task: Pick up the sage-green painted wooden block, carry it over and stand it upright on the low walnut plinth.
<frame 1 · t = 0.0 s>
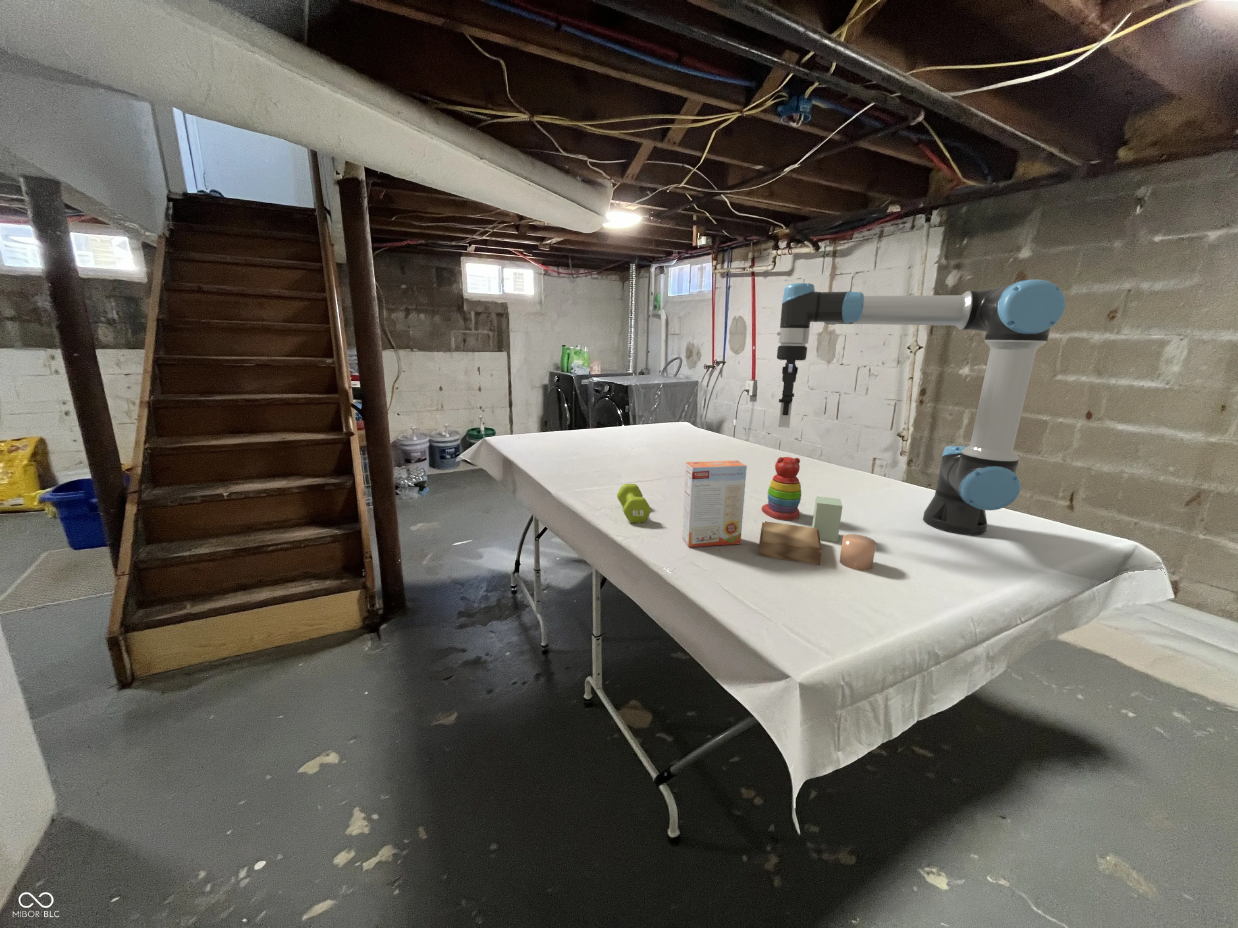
hand: (784, 423, 135), 28 cm above the table, fingers open, 13 cm apart
sage block: (824, 536, 129), on the table
dumbbell: (632, 514, 143), on the table
stacking bear: (781, 515, 145), on the table
cracker box: (710, 542, 124), on the table
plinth: (788, 548, 121), on the table
peach rounded cylinder: (855, 563, 114), on the table
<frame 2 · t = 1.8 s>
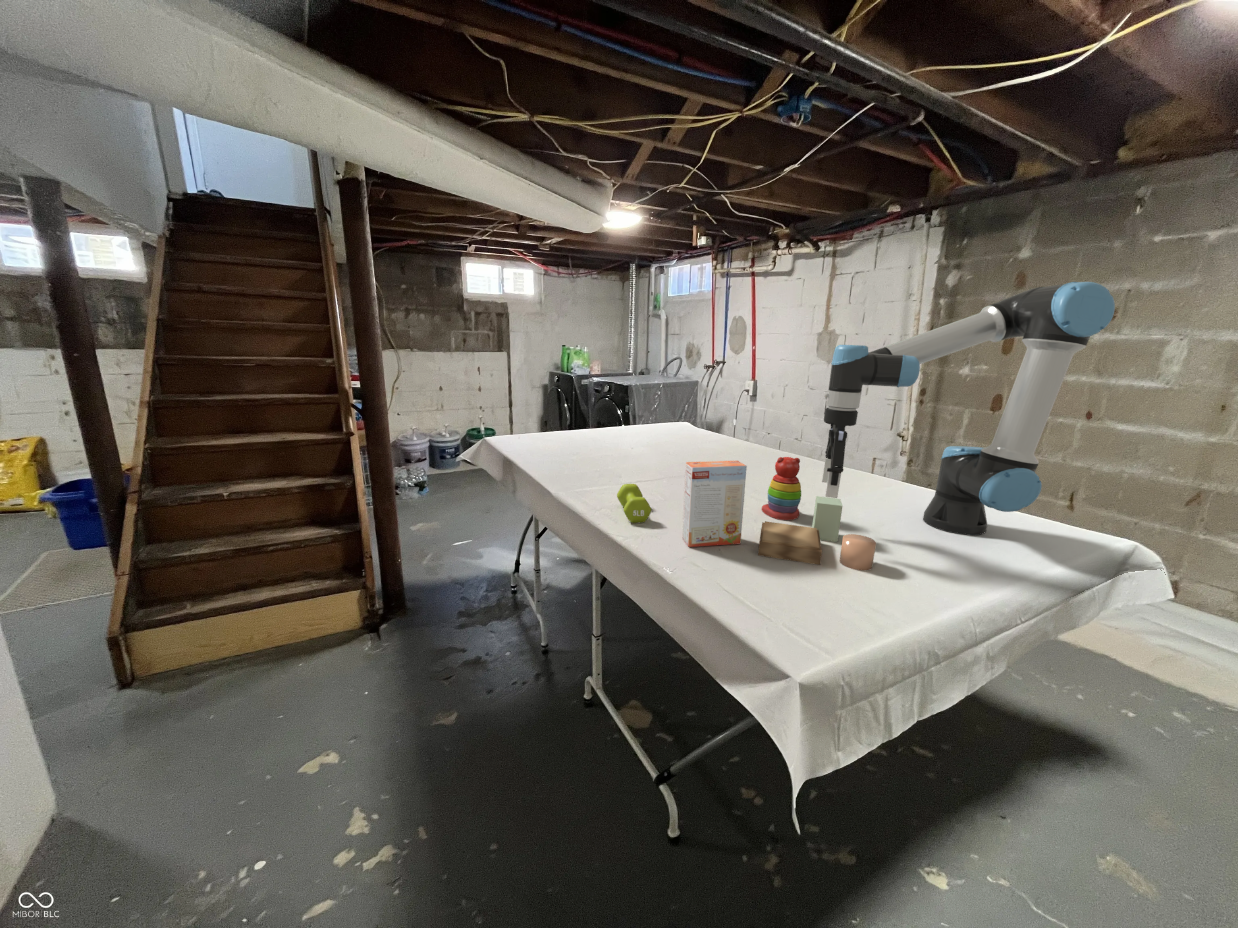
hand: (829, 489, 126), 13 cm above the table, fingers open, 13 cm apart
nothing on the table moved.
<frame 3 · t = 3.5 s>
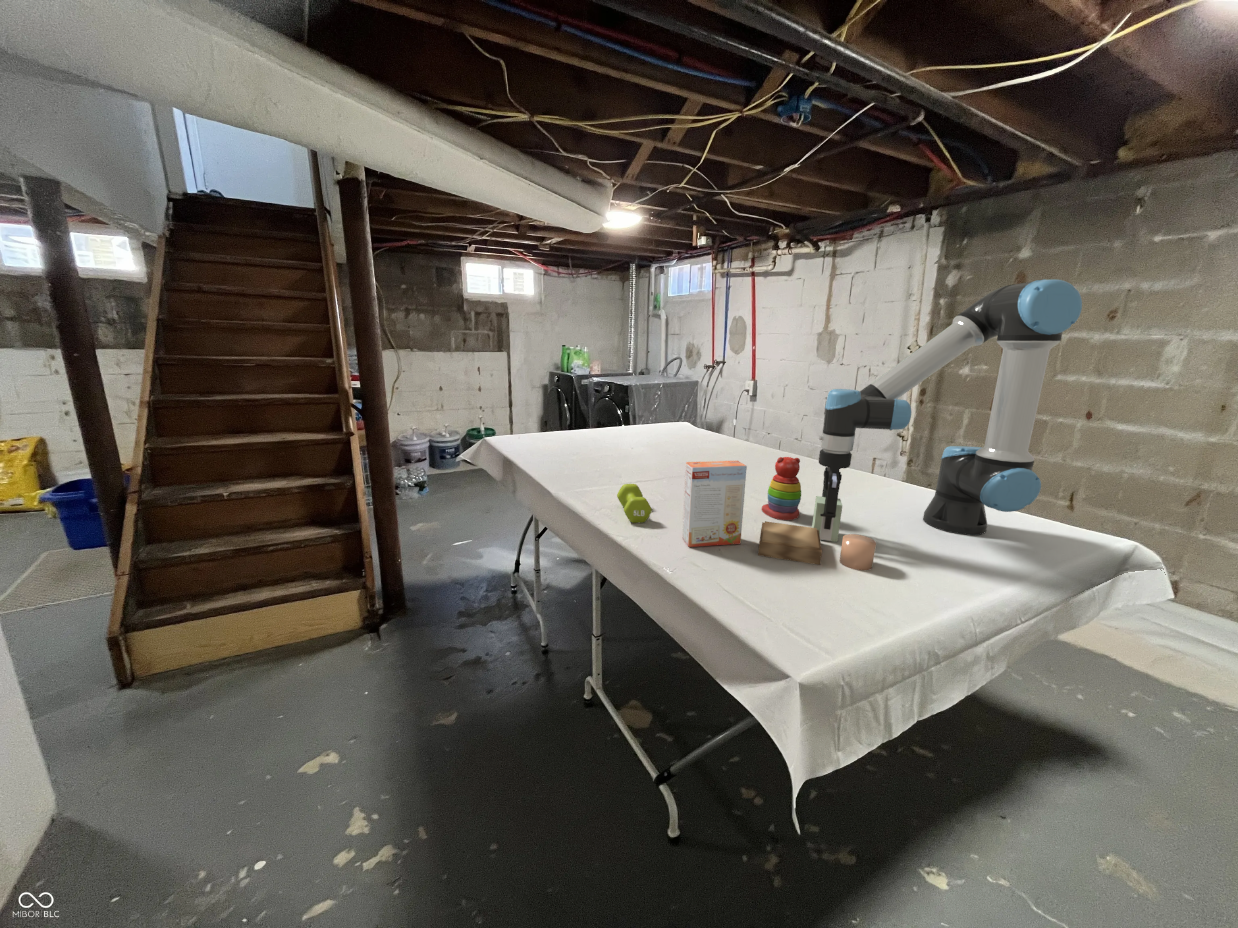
hand: (824, 534, 129), 0 cm above the table, fingers closed on sage block, 6 cm apart
sage block: (824, 536, 129), on the table, touching gripper
everything else where it was.
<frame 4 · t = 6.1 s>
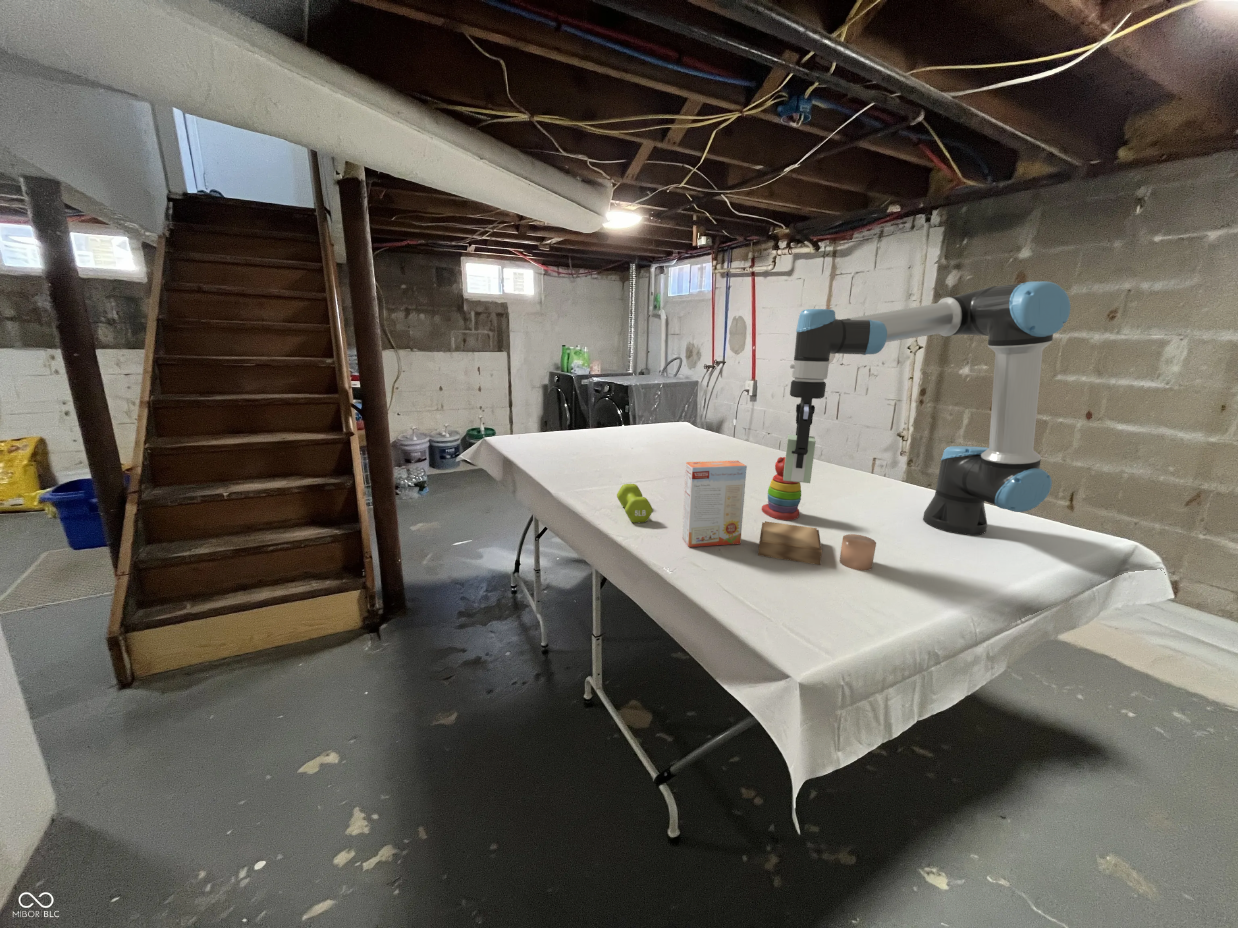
hand: (796, 476, 116), 19 cm above the table, fingers closed on sage block, 6 cm apart
sage block: (796, 478, 117), point 18 cm above the table, touching gripper
everything else where it was.
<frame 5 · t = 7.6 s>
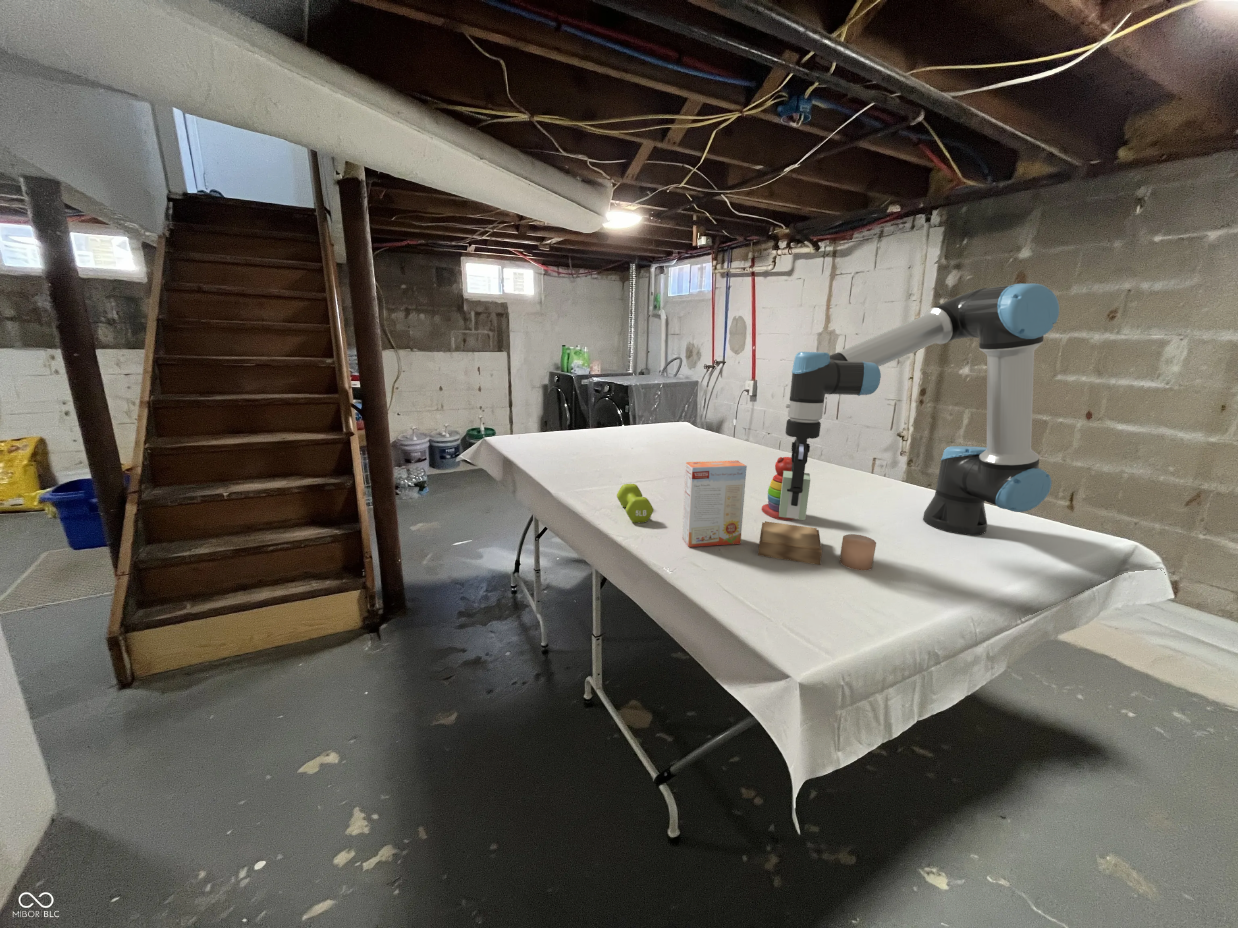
hand: (792, 512, 119), 10 cm above the table, fingers closed on sage block, 6 cm apart
sage block: (791, 514, 119), point 9 cm above the table, touching gripper
everything else where it was.
when the fingers open (6 cm above the table, at t = 8.7 s): sage block drops 1 cm, resting on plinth.
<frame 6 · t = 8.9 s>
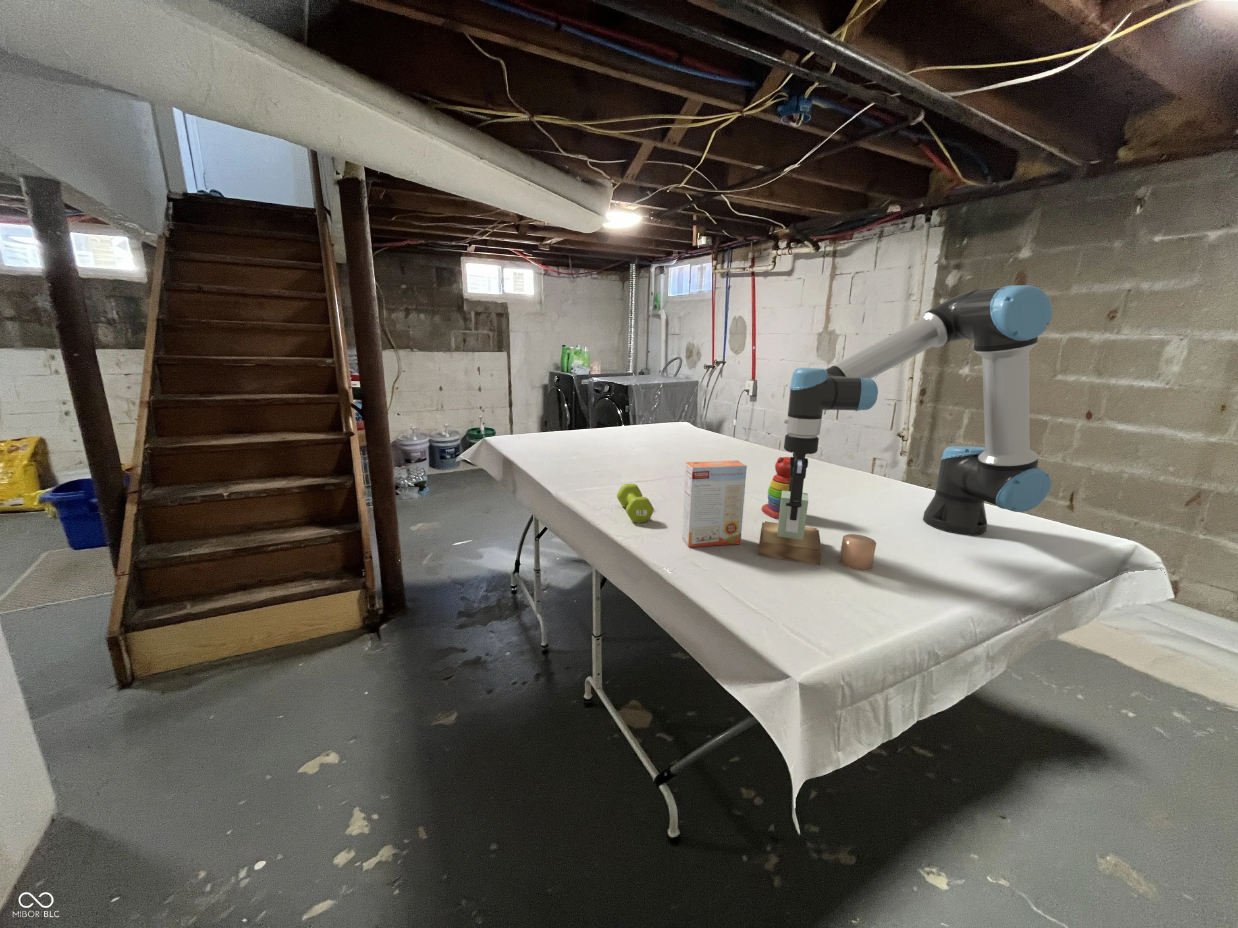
hand: (791, 524, 120), 6 cm above the table, fingers open, 8 cm apart
sage block: (790, 533, 120), point 4 cm above the table, touching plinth
everything else where it was.
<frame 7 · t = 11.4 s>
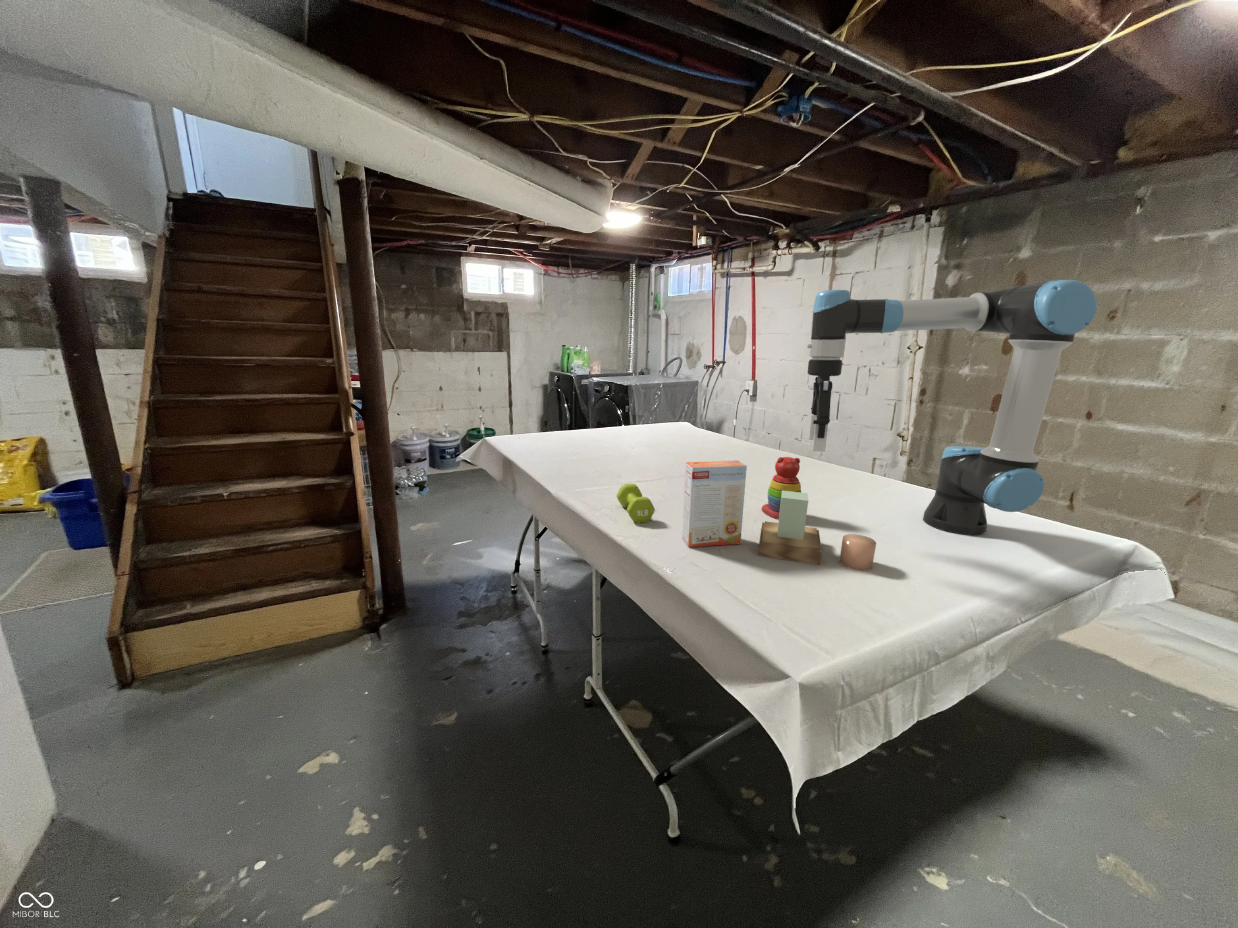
hand: (816, 445, 121), 25 cm above the table, fingers open, 13 cm apart
nothing on the table moved.
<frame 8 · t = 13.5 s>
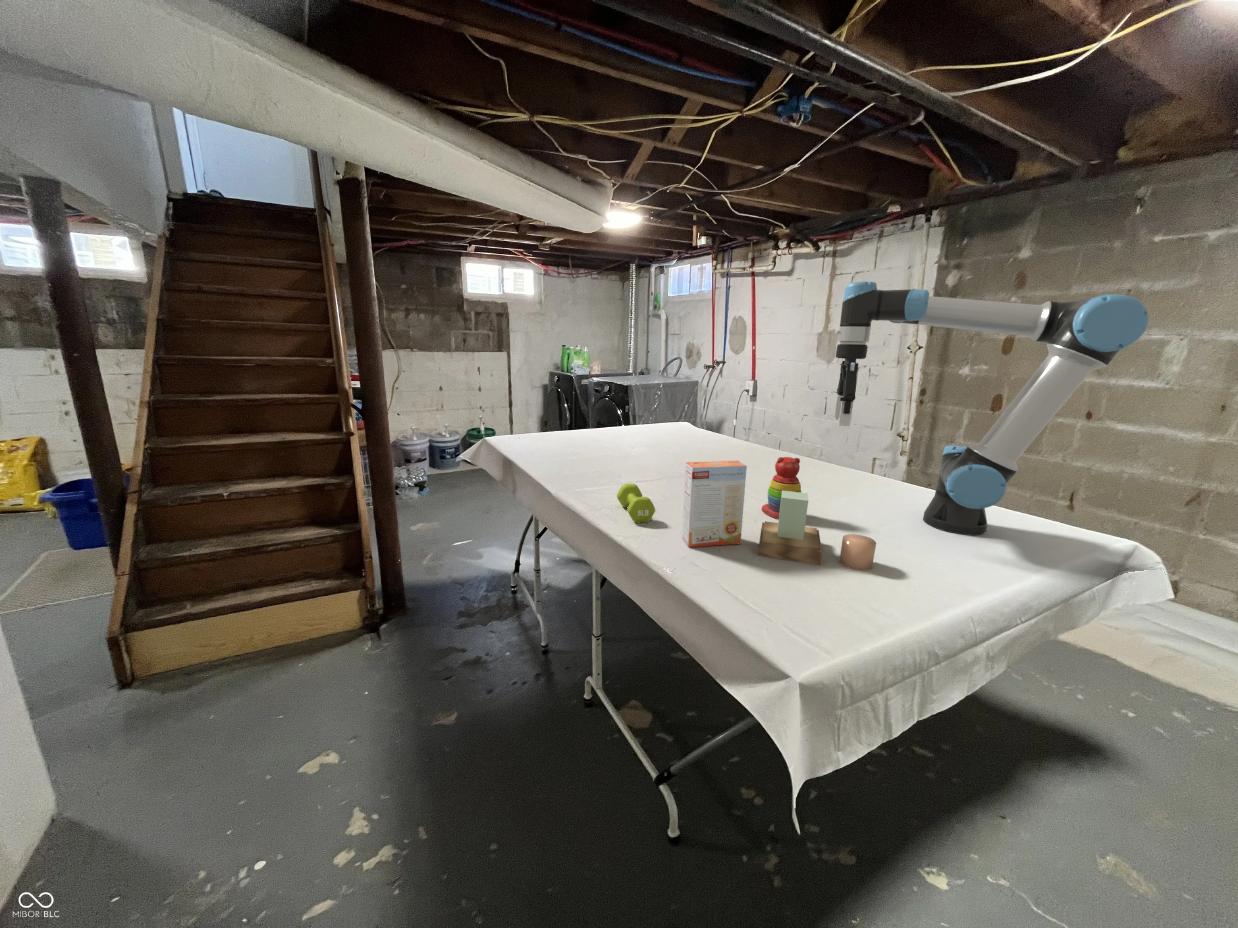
hand: (841, 421, 135), 29 cm above the table, fingers open, 13 cm apart
nothing on the table moved.
at the end: sage block inside the target area on the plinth (0.1 cm from its centre), point 4.0 cm above the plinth's base; sage block tilted 0°; the gripper is holding nothing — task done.
